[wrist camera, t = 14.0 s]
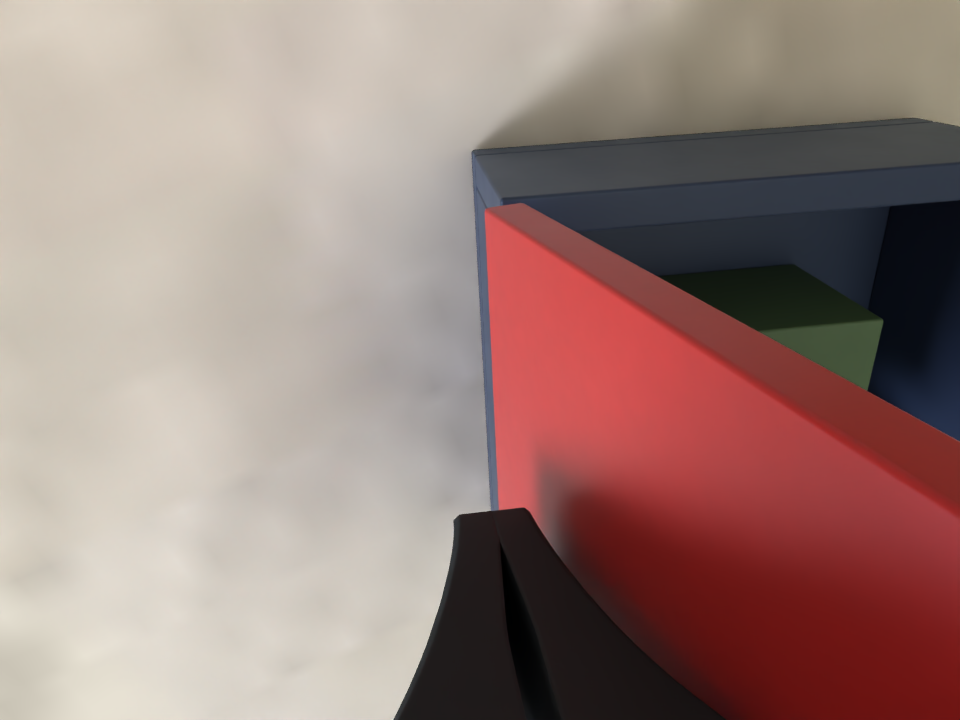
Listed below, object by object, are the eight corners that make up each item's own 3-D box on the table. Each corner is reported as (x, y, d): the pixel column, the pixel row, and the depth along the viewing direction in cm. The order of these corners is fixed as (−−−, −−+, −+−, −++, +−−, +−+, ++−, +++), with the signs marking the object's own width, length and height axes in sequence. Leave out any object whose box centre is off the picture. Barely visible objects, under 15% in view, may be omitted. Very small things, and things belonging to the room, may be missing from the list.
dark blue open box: (916, 117, 19) (1093, 151, 14) (837, 469, 24) (947, 580, 19) (471, 149, 18) (500, 198, 13) (490, 509, 23) (516, 636, 18)
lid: (2558, 1300, 2) (2530, 1509, 2) (1060, 1621, 7) (1004, 1679, 7) (524, 201, 13) (482, 207, 13) (533, 645, 18) (504, 655, 18)
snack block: (772, 399, 21) (849, 476, 18) (633, 414, 21) (682, 495, 17) (794, 263, 19) (885, 318, 16) (641, 277, 19) (698, 337, 15)
